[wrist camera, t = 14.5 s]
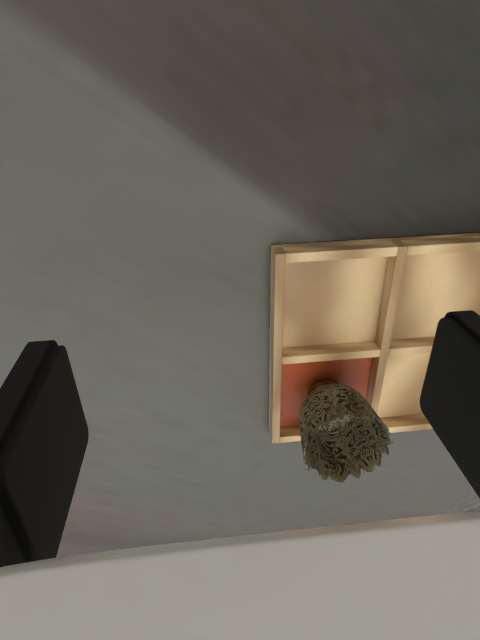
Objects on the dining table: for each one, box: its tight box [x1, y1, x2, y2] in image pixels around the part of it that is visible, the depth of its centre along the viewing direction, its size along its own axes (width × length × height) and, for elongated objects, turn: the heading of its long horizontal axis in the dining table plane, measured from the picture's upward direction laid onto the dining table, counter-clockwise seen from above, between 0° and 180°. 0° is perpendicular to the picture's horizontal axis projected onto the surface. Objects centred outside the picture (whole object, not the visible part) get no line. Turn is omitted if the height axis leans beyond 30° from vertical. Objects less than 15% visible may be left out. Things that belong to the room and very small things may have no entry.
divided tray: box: [269, 233, 480, 443], centre depth 40 cm, size 20×20×2 cm
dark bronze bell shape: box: [299, 378, 393, 483], centre depth 39 cm, size 8×7×8 cm
